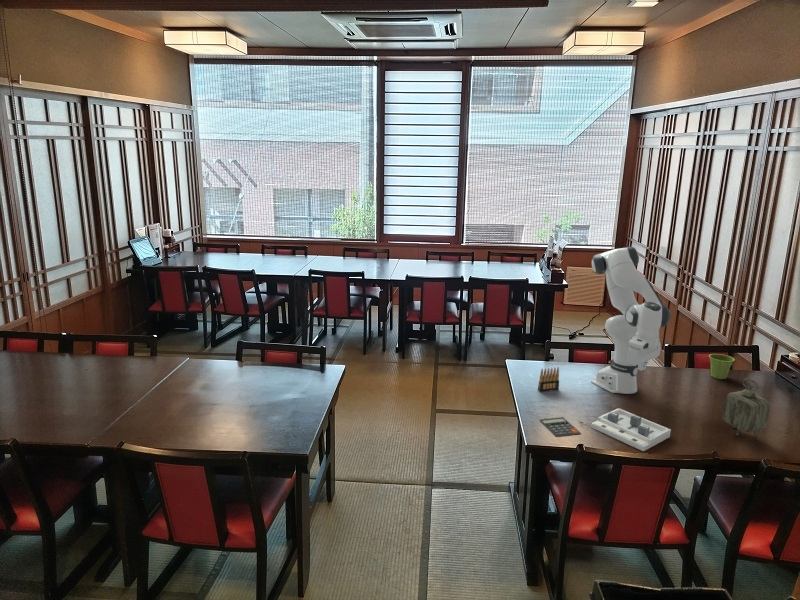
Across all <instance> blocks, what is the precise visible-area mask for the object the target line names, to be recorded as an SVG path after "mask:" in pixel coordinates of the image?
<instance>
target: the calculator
mask: <svg viewBox="0 0 800 600" xmlns="http://www.w3.org/2000/svg"><path fill="white" fill-rule="evenodd" d="M539 422H540V423H541V424H542V425H543V426H544V427H545V428H546V429H547V430H548V431H549V432H551V434H553V436H554V437H555V438H557V437H559V438H560V437H566V436H567V437H568V436H574V435H575V436H576V435H577V436H578V435H581V434H582V433H581V432H580V431H579V430H578V428H576V427H575V426H574V425H572V423H570V422H569V421H568V420H567V419H566V418H565V417H564V416H561V417H551V418H549V417H548V418H541V419H539Z"/></svg>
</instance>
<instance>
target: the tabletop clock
mask: <svg viewBox="0 0 800 600" xmlns="http://www.w3.org/2000/svg"><path fill="white" fill-rule="evenodd" d="M745 381H749V382H752V383H753V384H755V385H756V388H752V386H751V385H748V386H747V385H746V384H745V383H744V382H745ZM741 382H742V385H743V386H744V387H745V389H743V390H738V391H733V392H729V393H728V394H727V395H726V397H725V398H724V402H723V407H722V412H721V413H722V420H723V421H724V422H725V423H727V424H729V425H730V426H731V428H733V429H735V428H736V429H737V430H736V431H735V432H734V435H735V436H740V431H742V432H744V433H749V434H753V435H754V439H755V440H757V439H758V440H760V436H759V435H757V432H760V431H764V430H765V429H766V427H767V425H768V422H769V419H770V413H771V411H770V410H771V407H770V402H769V401H768V400H766V399H765V398H763V397H761V396H760V395H758V394H756V392H755V391H758V389H759V384H758V383H757V382H756V381H754V380H753V379H750V378H744V379H743V380H742V381H741Z"/></svg>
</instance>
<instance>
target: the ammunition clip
mask: <svg viewBox="0 0 800 600" xmlns="http://www.w3.org/2000/svg"><path fill="white" fill-rule="evenodd" d="M559 387H560V368H559V366H558V367H557V368H556V367H551V368H549V367H548V369H547V368H546V367H544V370H543V368H541V370H540V375H539V381H538V386H537V391H538V392H539V393H541V392H543V393H544V392H549V391H550V390H552V391H559ZM550 392H551V391H550Z"/></svg>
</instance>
